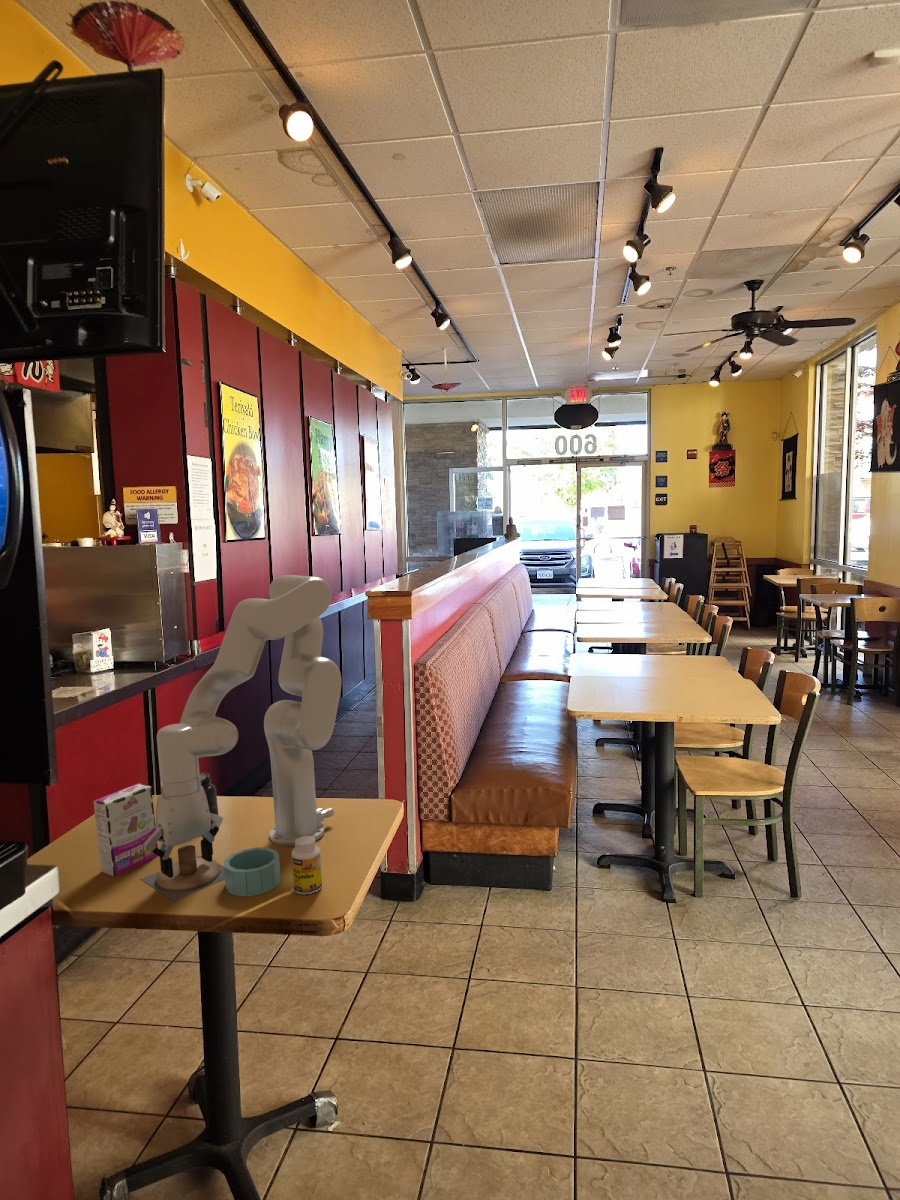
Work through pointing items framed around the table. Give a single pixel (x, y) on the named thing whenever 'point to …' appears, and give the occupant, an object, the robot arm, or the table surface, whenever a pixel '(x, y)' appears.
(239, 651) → the robot arm
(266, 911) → the table surface
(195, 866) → the lid
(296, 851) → the supplement bottle
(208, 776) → the supplement bottle
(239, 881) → the bowl
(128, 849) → the candy bar box
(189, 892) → the mat
